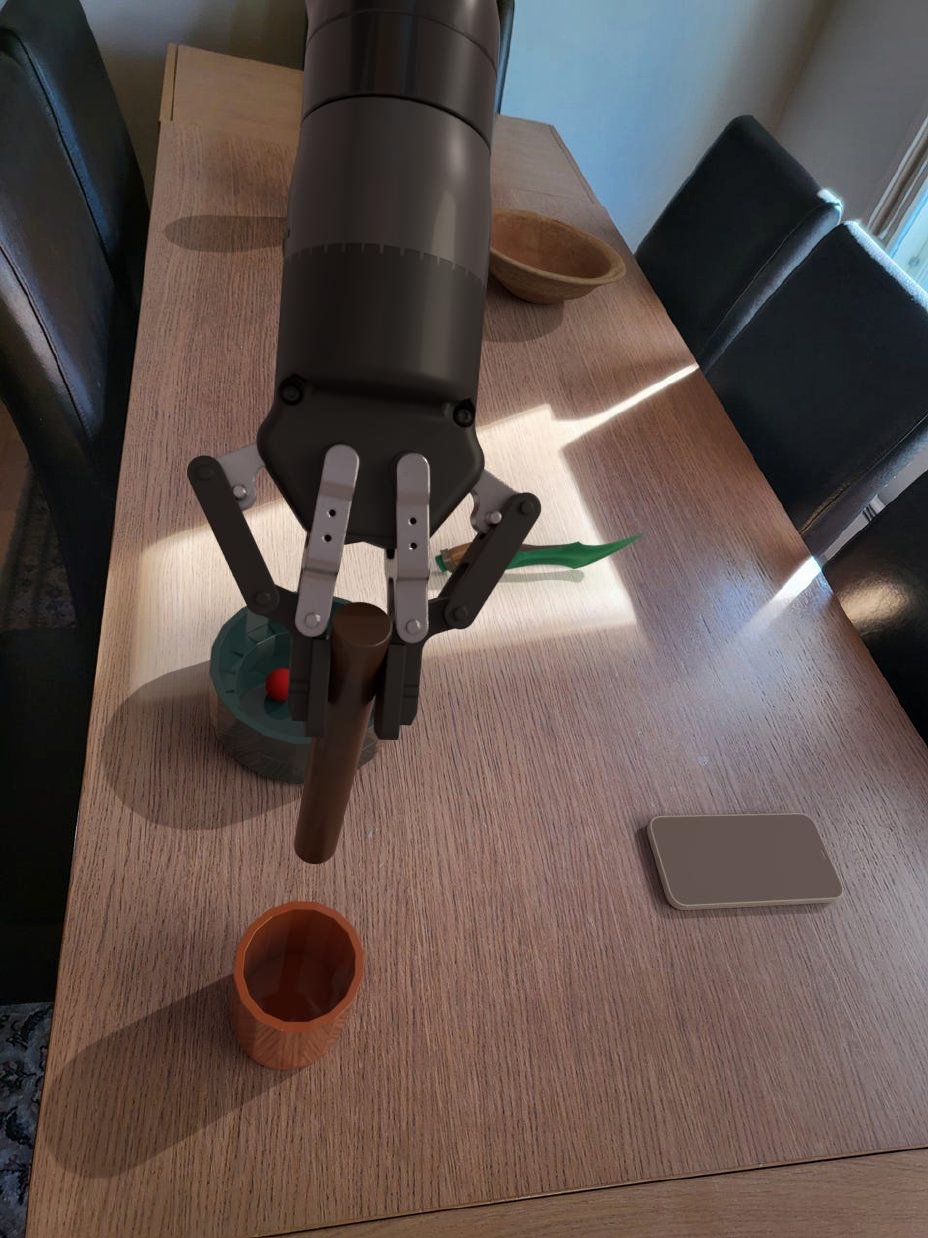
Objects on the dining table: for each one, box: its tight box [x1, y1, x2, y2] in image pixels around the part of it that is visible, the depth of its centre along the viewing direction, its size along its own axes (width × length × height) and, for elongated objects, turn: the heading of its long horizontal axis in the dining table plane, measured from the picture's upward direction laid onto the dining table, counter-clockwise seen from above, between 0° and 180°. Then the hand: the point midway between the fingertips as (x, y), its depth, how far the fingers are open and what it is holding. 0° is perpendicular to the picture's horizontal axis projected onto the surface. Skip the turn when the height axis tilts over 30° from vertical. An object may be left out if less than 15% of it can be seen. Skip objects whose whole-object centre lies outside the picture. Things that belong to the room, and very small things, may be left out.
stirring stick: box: [293, 601, 392, 865], centre depth 37 cm, size 2×2×18 cm
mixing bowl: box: [208, 590, 387, 784], centre depth 64 cm, size 14×14×6 cm
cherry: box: [265, 668, 289, 702], centre depth 65 cm, size 3×3×3 cm
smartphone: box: [646, 812, 844, 911], centre depth 65 cm, size 7×1×15 cm
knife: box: [434, 532, 645, 574], centre depth 81 cm, size 21×2×5 cm, turn 105°
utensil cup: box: [230, 900, 365, 1071], centre depth 48 cm, size 7×7×8 cm
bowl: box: [488, 207, 627, 305], centre depth 120 cm, size 24×24×8 cm
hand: (350, 732), depth 32 cm, fingers closed on stirring stick, 2 cm apart
